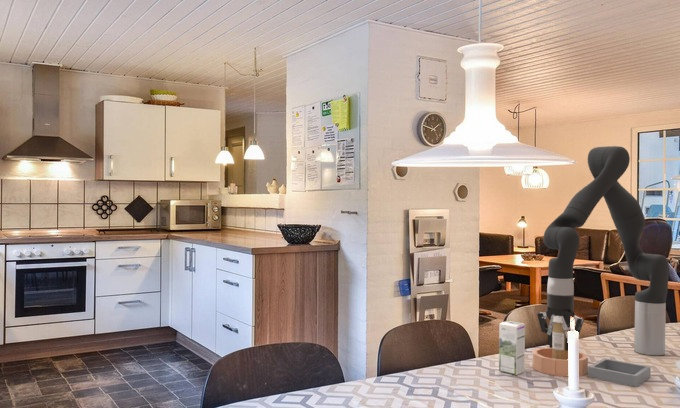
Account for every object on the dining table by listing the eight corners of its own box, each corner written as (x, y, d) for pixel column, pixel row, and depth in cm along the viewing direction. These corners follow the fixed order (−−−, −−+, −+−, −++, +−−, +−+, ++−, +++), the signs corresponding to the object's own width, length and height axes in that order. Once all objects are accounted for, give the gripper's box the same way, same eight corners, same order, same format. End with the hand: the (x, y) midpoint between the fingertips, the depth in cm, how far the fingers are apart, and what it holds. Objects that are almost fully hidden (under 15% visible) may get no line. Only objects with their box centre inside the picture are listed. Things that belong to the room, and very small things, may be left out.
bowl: (545, 359, 190) (545, 345, 190) (594, 368, 179) (594, 353, 179) (523, 368, 178) (524, 353, 178) (575, 379, 168) (575, 363, 168)
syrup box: (525, 371, 175) (525, 322, 175) (516, 375, 171) (516, 325, 171) (507, 367, 179) (508, 320, 179) (498, 371, 175) (498, 322, 175)
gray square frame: (604, 368, 180) (604, 358, 180) (650, 377, 171) (650, 366, 171) (588, 377, 170) (588, 366, 170) (636, 387, 162) (636, 376, 162)
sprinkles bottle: (570, 360, 178) (571, 315, 178) (561, 362, 176) (561, 317, 175) (557, 356, 182) (558, 313, 182) (548, 358, 179) (548, 314, 179)
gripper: (589, 293, 176) (588, 350, 177) (542, 288, 186) (542, 342, 186) (579, 296, 171) (578, 355, 171) (532, 291, 181) (532, 346, 181)
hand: (559, 348), depth 179 cm, fingers closed on sprinkles bottle, 4 cm apart
